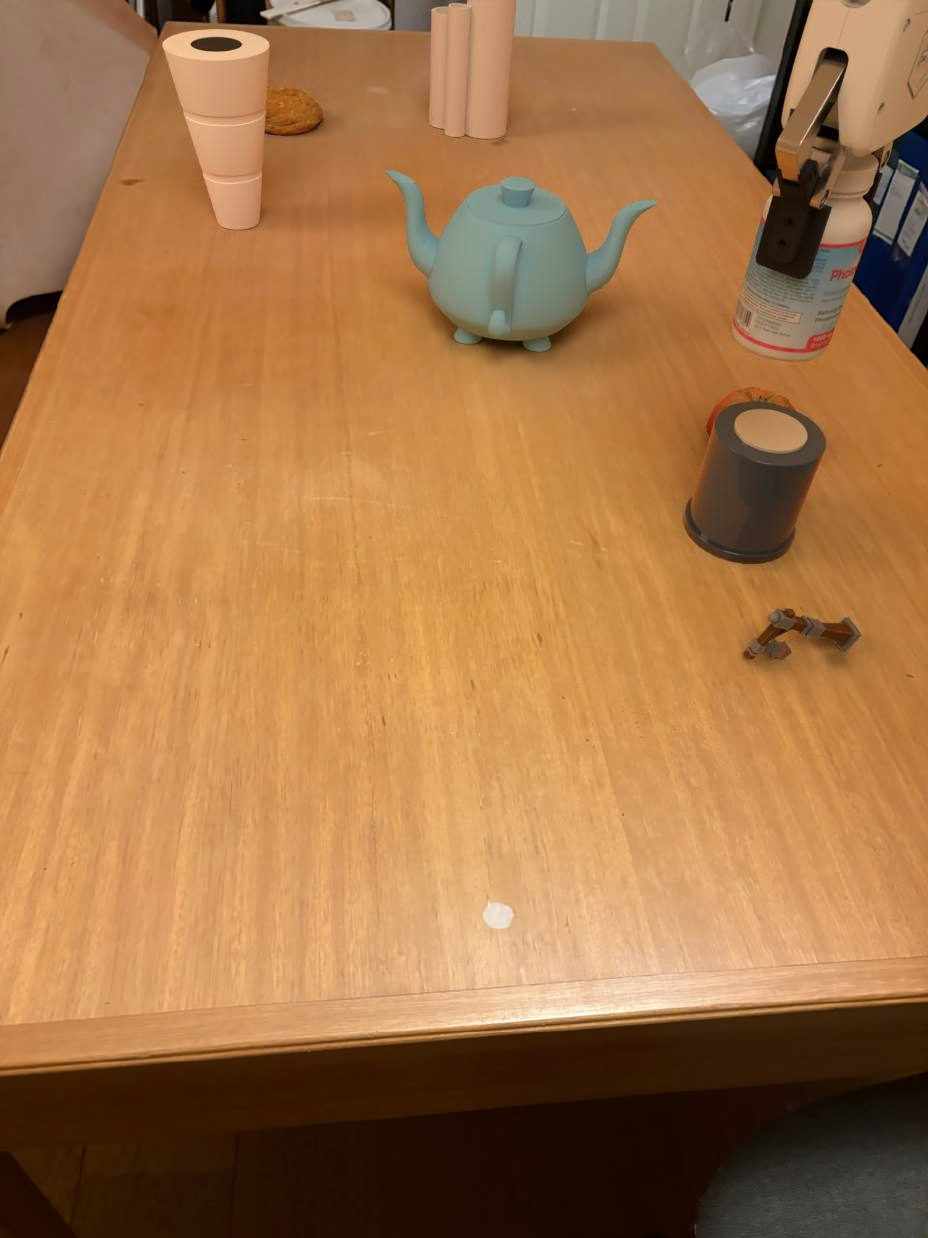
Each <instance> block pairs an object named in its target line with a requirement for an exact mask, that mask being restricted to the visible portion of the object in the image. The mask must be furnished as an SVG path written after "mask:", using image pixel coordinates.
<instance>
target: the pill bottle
mask: <svg viewBox="0 0 928 1238" xmlns="http://www.w3.org/2000/svg"><path fill="white" fill-rule="evenodd" d="M812 152H813V153H812V155H811V159H812V160H815V161H817V162H818V169H819V176H821V174H822V171H823V169H824V167H825V164H826V162H827V160H828V158H829V155H828V154H824V153H821V152H818V151H814V150H812ZM878 164H879V162H878V159H877V158H876V157H875V156H874V155H873V154H871V153H870V154H868V155H866V156H863V157H859V156H855V155H853V153H852V148H851V149H850V151H849V153H848V155H847V158H846V160H845V162H844V164H843V167H842V169H841V171H840V173H839V175H838V178H837V180H836V182H835V184H834V187H833V189H832V191H831V193H830V196H829V198H828V200H827V202H826V204H825V205H828V206H831V207H832V209H831V212H830V215H829V218H828V221H827V224H826V227H825V231H824V234H823V237H822V240H821V243H820V246H819V249H818V252H817V255H816V258H815V261H814V264H813V267H812V270H811V273H810V274H809V275H808V276H807V277H806V278H804V279H801V280H800V279H796V278H794V277H791V276H788V275H786V274H783V273H780V272H777V271H775V270H772V269H769V268H766V267H764V266H761V265H759V264H758V263H757V262H756V259H755V258H756V253H757V250H758V246H759V243H760V239H761V236H762V232H763V229H764V225H765V221H766V218H767V214H768V211H769V207H770V204H771V200H772V197H773V195H772V194H771V195H770V196H769V197H768V199H767V201H766V203H765V204H764V208H763V211H762V214H761V218H760V220H759V221H760V222H759V225H758V228H757V232H756V236H755V239H754V243H753V247H752V249H751V254H750V257H749V262H748V265H747V268H746V271H745V275H744V279H743V283H742V286H741V290H740V294H739V298H738V300H737V301H738V302H737V305H736V309H735V312H734V316H733V320H732V323H731V333H732V335H733V338H734V339H735V341H736V342H737V343H738V344H739V345H740V346H741V347H742V348H743V349H745V350H747V352H750V353H751V354H753V355H756V356H758V357H762V358H764V359H769V360H774V361H780V362H788V363H803V362H809V361H812V360H815V359H817V358H819V357H821V356H822V355H823V354H824V353H825V352H826V351H827V350H828V349H829V347H830V343H831V341H832V338H833V335H834V332H835V330H836V327H837V324H838V322H839V318H840V315H841V313H842V310H843V307H844V304H845V302H846V300H847V299H846V298H847V296H848V293H849V291H850V288H851V286H852V283H853V279H854V277H855V274H856V271H857V269H858V265H859V263H860V260H861V257H862V254H863V251H864V248H865V246H866V243H867V240H868V237H869V234H870V231H871V228H872V223H873V214H872V210H871V208H870V207H869V205H868V204H867V202H866V201H865V200H864V199H863V198H862V197H863V195H865V194H866V193H868V191H869V189H870V187H871V186H872V185H873V180H874V177H875V174H876V171H877V172H878V170H877V168H878Z"/></svg>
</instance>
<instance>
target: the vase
mask: <svg viewBox="0 0 928 1238" xmlns="http://www.w3.org/2000/svg"><path fill="white" fill-rule="evenodd" d="M516 10H517V0H466V3H462V2H461V3H460V2H454V3H449V4H448V5H447V6H436V7H433V8H431V16H430V54H429V55H430V56H429V57H430V60H429V98H428V99H429V102H428V103H429V104H428V109H429V111H428V124H429V126H431V127H433V128H436V129H441V130H443V134H444V135H445V136H447V137H450V138H462V137H465V135H466V136H468V137H471V138H475V139H480V140H491V139H492V140H494V139H498V138H501V137H504V136H505V135H506V134H507V126H508V113H509V101H510V100H509V99H510V87H511V75H512V74H511V73H512V62H513V48H514V38H515V37H514V36H515V24H516V23H515V22H516ZM432 118H433V119H432ZM443 121H444V122H443Z"/></svg>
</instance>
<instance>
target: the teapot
mask: <svg viewBox="0 0 928 1238" xmlns="http://www.w3.org/2000/svg"><path fill="white" fill-rule="evenodd" d="M385 174H386V175H387V176H388V177H389V178H390V179H391V180H392V182H394V184H395V185H396V186H397V187H398V190H399V191H400V193H401V195H402V198H403V201H404V206H405V215H406V216H405V218H406V223H405V224H406V226H405V227H406V228H405V231H406V232H405V233H406V245H407V250H408V254H409V256H410V259H411V261H412V262H413V264H414V265H415V267H416V269H417V270H418V271H419V272H420V273H421V274H422V275H424V276H425V278H426V279H427V289H428V292H429V295H430V297H431V299H432V301H433V302H434V304H435V305H436V306H437V308H438V309H439V311H441V313H443V315H444V316H445V317H446V318H447V319H448V320H449V321H450V322H451V323H452V324H454V325H455V326H456V327H457V329H456V331H455V333H454V334H453V338H454V340H455V341H457V343H461V344H464V345H475V344H478V343H479V342H481V341H482V340H483V338H487V339H494V340H499V341H515V342H516V341H517V342H518V341H520V342H521V341H522V345H523V347H524V348H525V349H526V350H528V351H531V352H538V353H540V352H546V351H549V349H551V348H552V344H551V341H550V338H549V336H551V335H553V334H556V333H558V332H560V331H561V330H562V329H564V328H565V327H566V326H568V325H569V324H570V323H572V322H573V321H574V320H575V319H576V318H577V317H578V316H579V315H580V314H581V313H582V312H583V311H584V309H585V307H586V306H587V304H588V301H589V299H590V295H591V294H594V293H595V292H597V291H599V290H601V289H602V288H603V287H604V286H605V285H607V284H608V283H609V282H610V280H611V279H612V277H613V276H614V275H615V273H616V271H617V269H618V268H619V264H620V261H621V258H622V256H623V253H624V252H623V251H624V249H625V244H626V241H627V238H628V235H629V232H630V230H631V229H632V226H633V225H634V223H635V222H636V221H637V219H638V218H639V217H640V216H642V214H644V213H646V211H648V210H650V209H651V208H653V207H655V206H656V205H658V202H659V201H658V200H655V199H646V200H638V201H633V202H630V203H627V204H626V205H623V207H622V208H621V209H619V211H617V213H616V215H615V216H614V218H613V220H612V223H611V225H610V228H609V231H608V234H607V237H606V239H605V241H604V242H603V243H602V245H601V246H599V247H598V248H597V249H595V250H593V251H591V252H589V253H588V252H587V248H586V245H585V243H584V240H583V238H582V235H581V232H580V230H579V227H578V225H577V223H576V221H575V219H574V216H573V215H572V213H571V211H570V209H569V207H568V206H567V203H565V202H564V200H563V199H562V198H560V196H558V195H557V194H555V193H554V192H551V191H549V190H546V189H544V188H540V187H538V186H537V187H536V184H537V183H536V182H535V181H534V180H532V179H531V178H528V177H525V176H520V175H510V176H507V177H503V178H502V179H501V180H500V182H499V184H489V185H485V186H482V187H479V188H477V189H475V190H473V191H472V192H470V193H469V194H467V196H466V197H465V198H464V199H463V201H462V202H461V203H460V204H459V206H457V208H456V209H455V211H454V213H453V214H452V216H451V217H450V219H449V220H448V221H447V223H446V224H445V227H444V228H443V230H442V232H441V233H440V235H439V237H438V236H436V234H434V232H433V231H431V229H430V227H429V225H428V223H427V219H426V212H425V202H424V196H423V193H422V190H421V189H420V187H419V185H418V183H416V181H414V180H413V179H412V178H410V177H409V176H407V175H405V174H403V173H401V172H398V171H396V170H393V169H386V170H385Z"/></svg>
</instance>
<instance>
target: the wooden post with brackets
mask: <svg viewBox="0 0 928 1238" xmlns="http://www.w3.org/2000/svg"><path fill="white" fill-rule="evenodd" d="M767 620H768V621H769V622H770V624H769V625H768V626H767V627H766V628H765V629H764V630H763V631H762V632H761V634H760V635H758V637H754V638H753V640H751V642H750V643H749V644H748V647H747V648H746V649H745V650H744V651H743V655H744V656H745V658H746V660H752V661H753V660H755V658H756V657H758V656H759V655H760V654H762V653H763V652H765V653H766V654H768V656H769V658H771V660H774V659H775V657H776V658H780V659H781V660H782V661H783V660H784V659H785V658H786V657H787V656H789V655H791V653H792V649H791V647H790V646H789V645H788V643H787V642H786V640H783V641H778V640H777V639H776V638H778V637H780V636H782V635H784V634H786V633H788V632H790V631H796V632H798V634H799V635H800V636H805V637H811V638H813V639H816V640H817V639H818V638H823V639H825V640H829V641H831V642H833V643H835V644H836V645H837V647H838V648H839V649H840V651H841V652H844V653H847V652H848V651H849V649H850V648H851V647H852V646H854V644H855V643H856V642H857V641H859V640H860V638H861V637H862V636H863V633H862V632H861V631H860V629H859V628H858V626H857V625H856V624H855V623H854V621H853V620H852V619H851V618H850V616H844V617H843V618H842V619H841V620H840V621H839V622H823V621H821V620H820V619H819V618H812V617H810V616H808V615H807V616H806V615H803V614H801V615H800V616H798V615H797V614H796V612H795V610H794V609H793V608H790V607H786V608H784V609H782V608H781V609H780V608H778V607H776V608H775V609H774V610H773V611H771V612H770V613H768V615H767Z"/></svg>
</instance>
